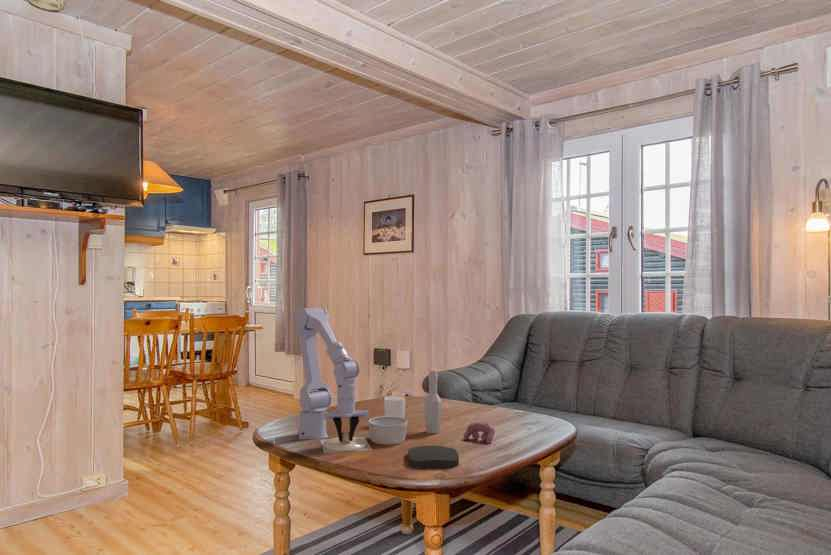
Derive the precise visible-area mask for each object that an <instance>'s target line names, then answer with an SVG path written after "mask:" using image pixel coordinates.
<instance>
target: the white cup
mask: <svg viewBox="0 0 831 555" xmlns="http://www.w3.org/2000/svg"><path fill="white" fill-rule="evenodd" d="M383 399H384V416H395V417H401V418H405V413H406V397H405V396H401V395H400V396H399V395H390V396H385V397H384V398H383Z"/></svg>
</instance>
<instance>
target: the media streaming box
mask: <svg viewBox="0 0 831 555" xmlns="http://www.w3.org/2000/svg"><path fill="white" fill-rule="evenodd" d="M407 451H408V452H407V459H408V464H409V466H410V465H411V467H412V466H414V467H413V468H416V467H419V468H418V469H446V468H447V469H450V468H451V467H452V468H456V467H458V466H459V464H460V462H459V461H460V457H459V454H458V451H457V449H456V448H453V447H449V446H443V445H433V444H431V445H420V446H414V447H410V448H408V450H407ZM455 466H456V467H455Z"/></svg>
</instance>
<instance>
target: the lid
mask: <svg viewBox="0 0 831 555" xmlns="http://www.w3.org/2000/svg"><path fill="white" fill-rule="evenodd" d="M341 434H342V442H339V437H338V436H337V437H331V438H327V439H328V440H326V441H324V448H326V449H328V450H333V451H348V452H356V451H355V450H360V449H363V448H365V447H366V446H367V442H368V440H367V439H366V438H365V439H366V440H367V441H366V440H365V439H362V438H359V437H357V436H353V440H352V441H350V431H346V430H345V431H341Z"/></svg>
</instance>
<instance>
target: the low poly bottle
mask: <svg viewBox="0 0 831 555" xmlns="http://www.w3.org/2000/svg"><path fill="white" fill-rule="evenodd" d="M438 379H439V375H438V371H437V369H430V370H429V372H428V394H427V395H426V397H425V398H424V402H423V407H424V408H423V412H424V413H423V414H424V424H425V432H426V434H429V433H437V434H439V433H440V428H441V422H442V421H441V420H442V413H443V411H442V410H443V407H442V405H443V401H442V399H441V397H440V396H439V394H438V381H439V380H438Z"/></svg>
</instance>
